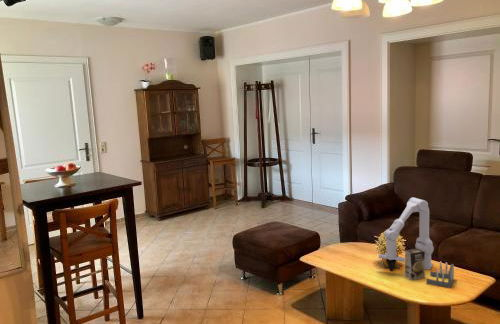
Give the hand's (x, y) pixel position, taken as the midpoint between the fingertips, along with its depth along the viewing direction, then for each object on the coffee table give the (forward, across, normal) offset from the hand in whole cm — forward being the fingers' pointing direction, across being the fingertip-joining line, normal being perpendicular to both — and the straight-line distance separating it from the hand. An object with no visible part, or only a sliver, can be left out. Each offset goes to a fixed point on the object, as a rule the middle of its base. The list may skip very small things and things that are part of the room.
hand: (391, 271), depth 243 cm
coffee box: (+2, +13, 0) cm, 13 cm away
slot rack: (+1, +26, 0) cm, 26 cm away
